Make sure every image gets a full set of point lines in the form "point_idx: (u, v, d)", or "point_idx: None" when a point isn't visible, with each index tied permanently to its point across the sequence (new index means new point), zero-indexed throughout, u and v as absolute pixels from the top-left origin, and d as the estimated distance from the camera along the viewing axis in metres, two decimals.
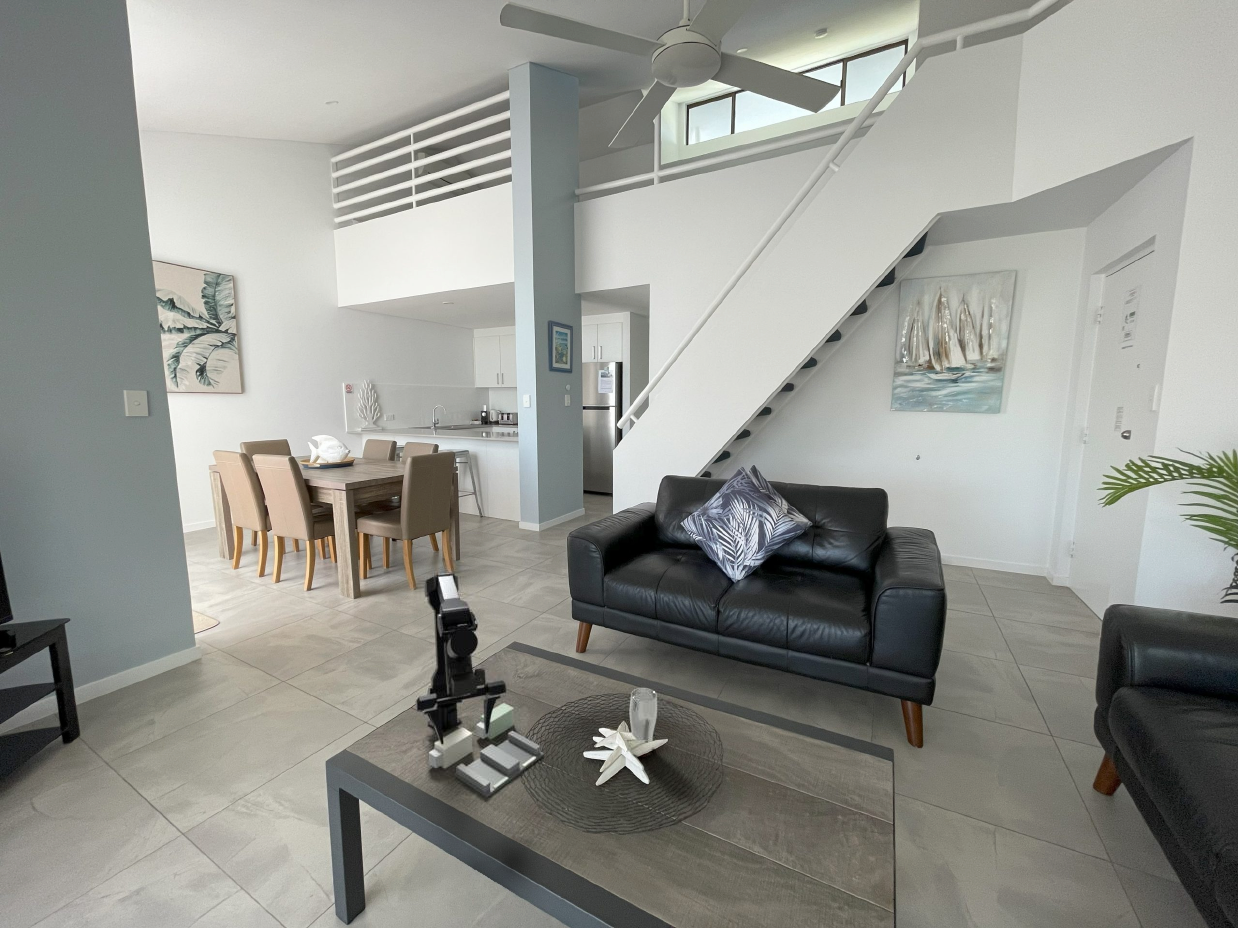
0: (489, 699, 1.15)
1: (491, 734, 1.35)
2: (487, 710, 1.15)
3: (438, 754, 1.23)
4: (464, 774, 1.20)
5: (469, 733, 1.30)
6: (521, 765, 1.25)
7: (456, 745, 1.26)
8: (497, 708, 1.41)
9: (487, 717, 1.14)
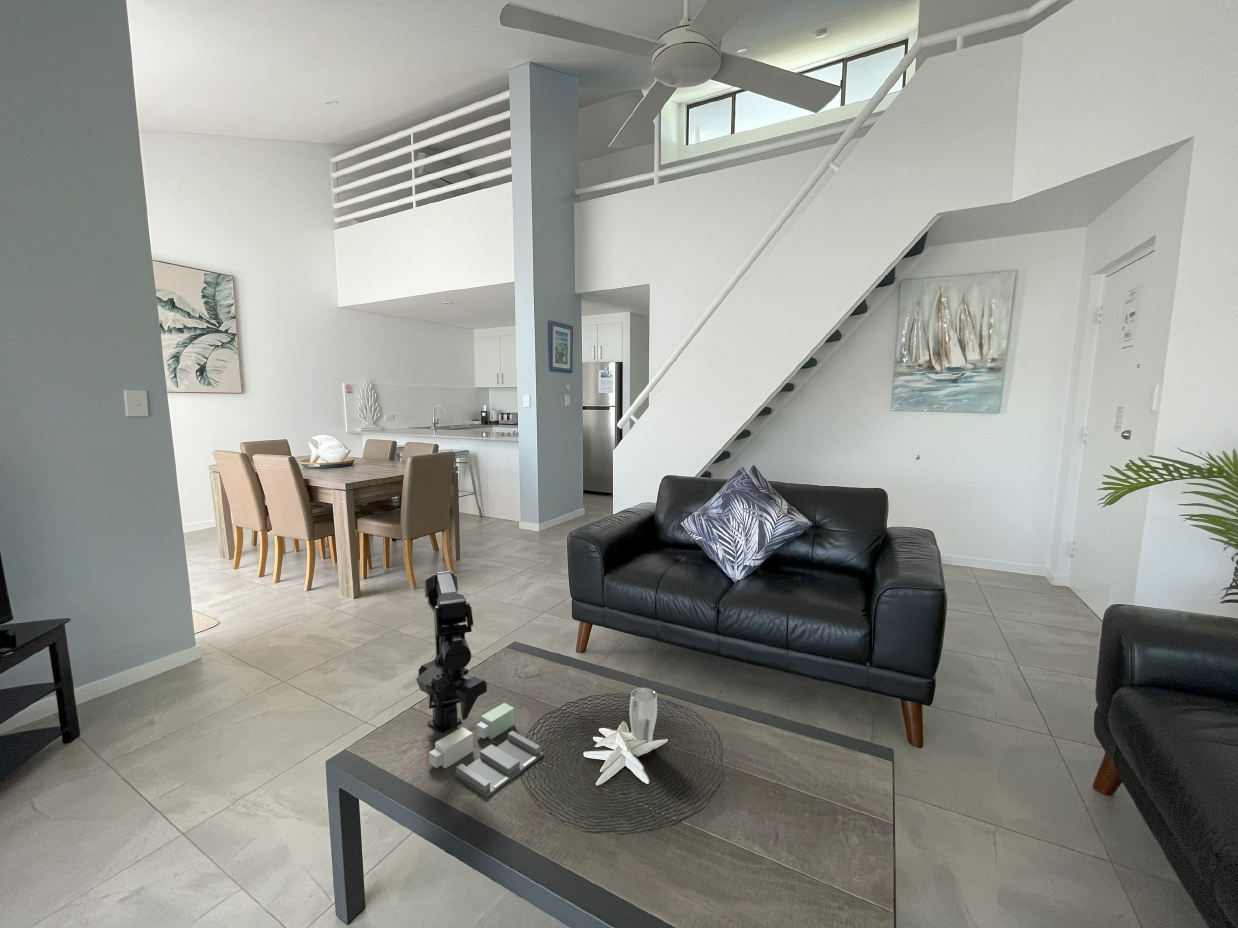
0: (457, 698, 1.20)
1: (492, 734, 1.36)
2: (461, 704, 1.22)
3: (439, 754, 1.23)
4: (464, 774, 1.20)
5: (469, 733, 1.30)
6: (521, 765, 1.25)
7: (457, 745, 1.26)
8: (497, 708, 1.41)
9: (461, 709, 1.22)
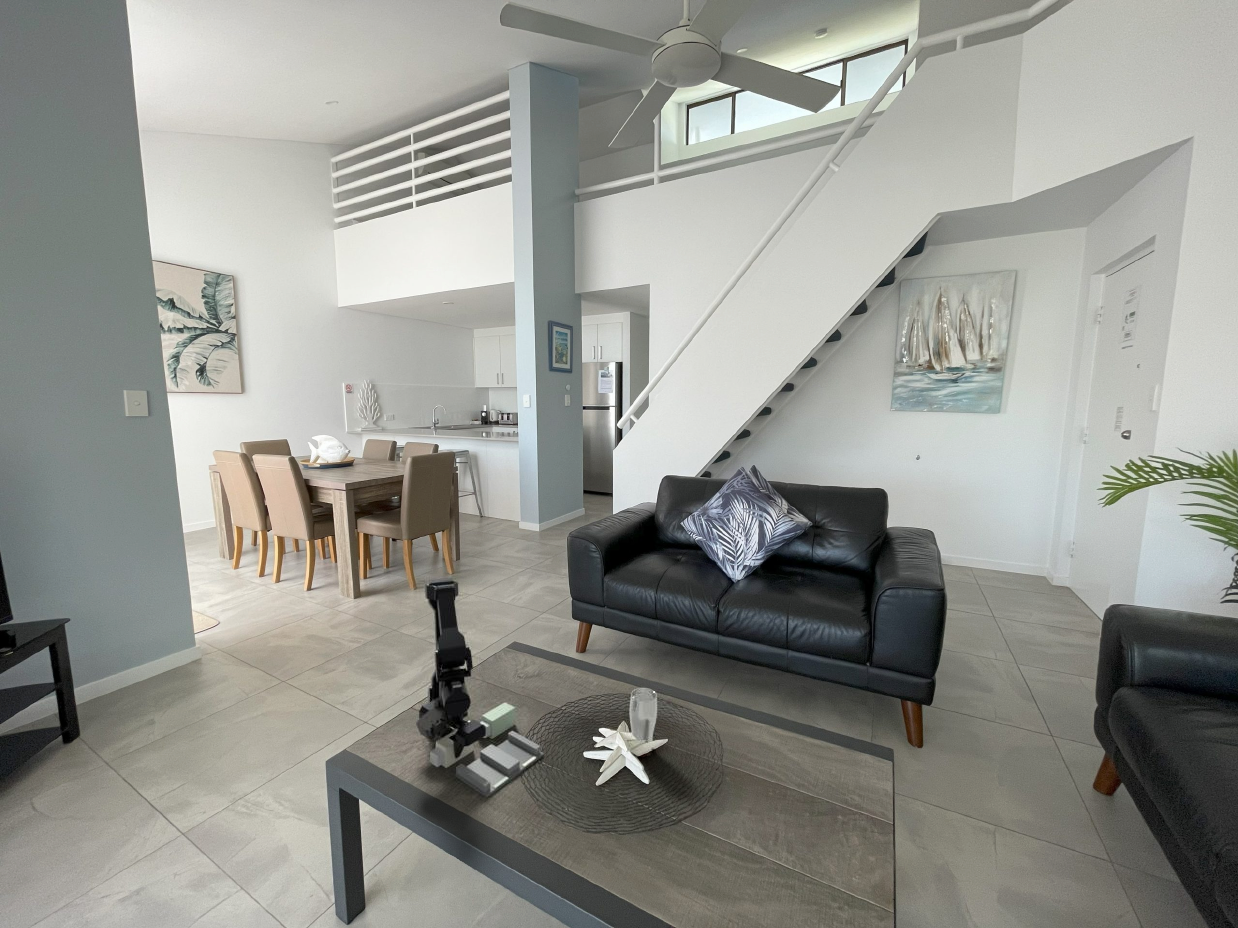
0: (449, 738, 1.23)
1: (492, 733, 1.36)
2: (454, 743, 1.25)
3: (440, 753, 1.23)
4: (464, 774, 1.20)
5: None
6: (521, 765, 1.25)
7: None
8: (498, 707, 1.41)
9: (454, 747, 1.25)
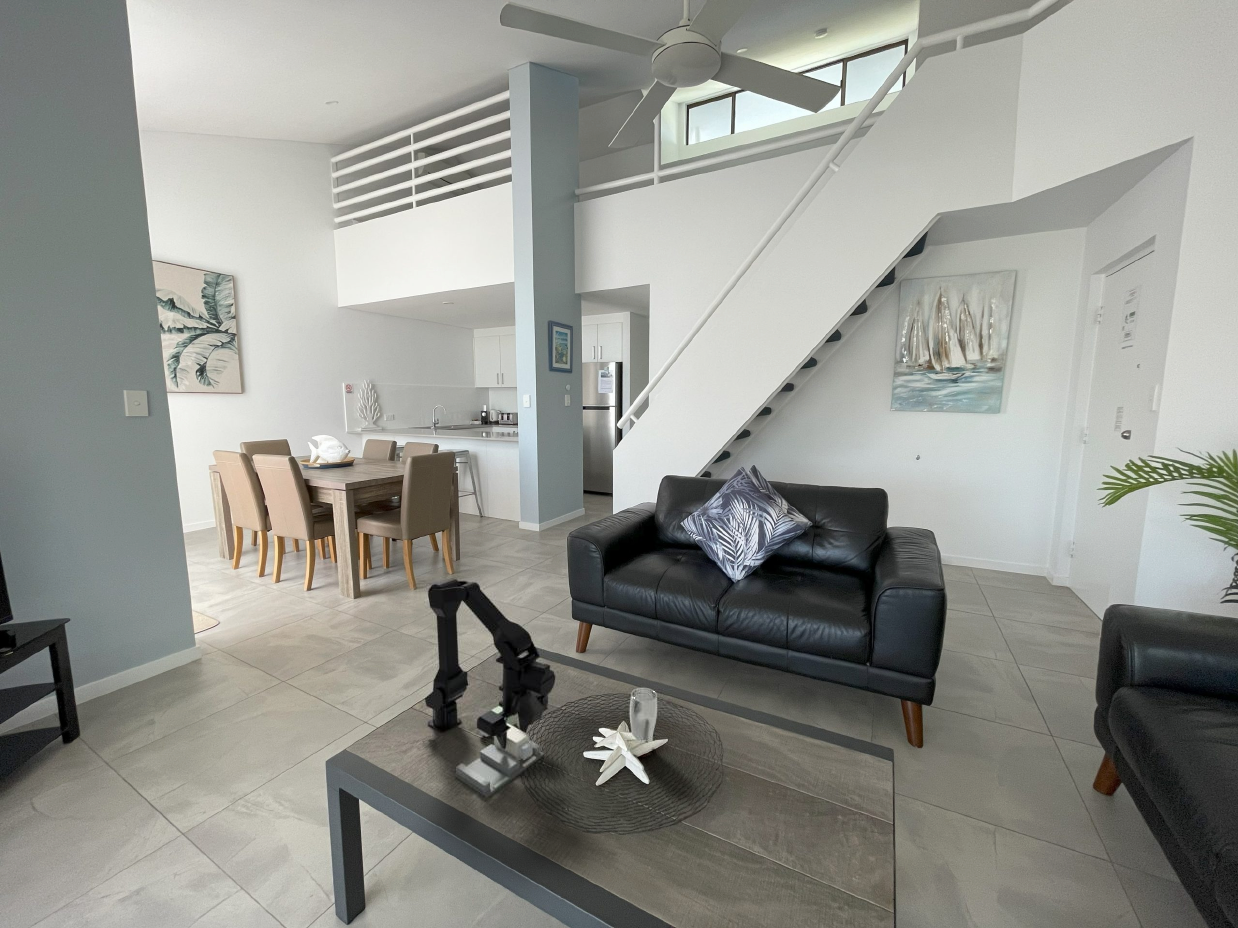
0: None
1: None
2: None
3: (529, 742, 1.28)
4: (464, 774, 1.20)
5: None
6: (521, 765, 1.25)
7: None
8: None
9: (527, 724, 1.31)
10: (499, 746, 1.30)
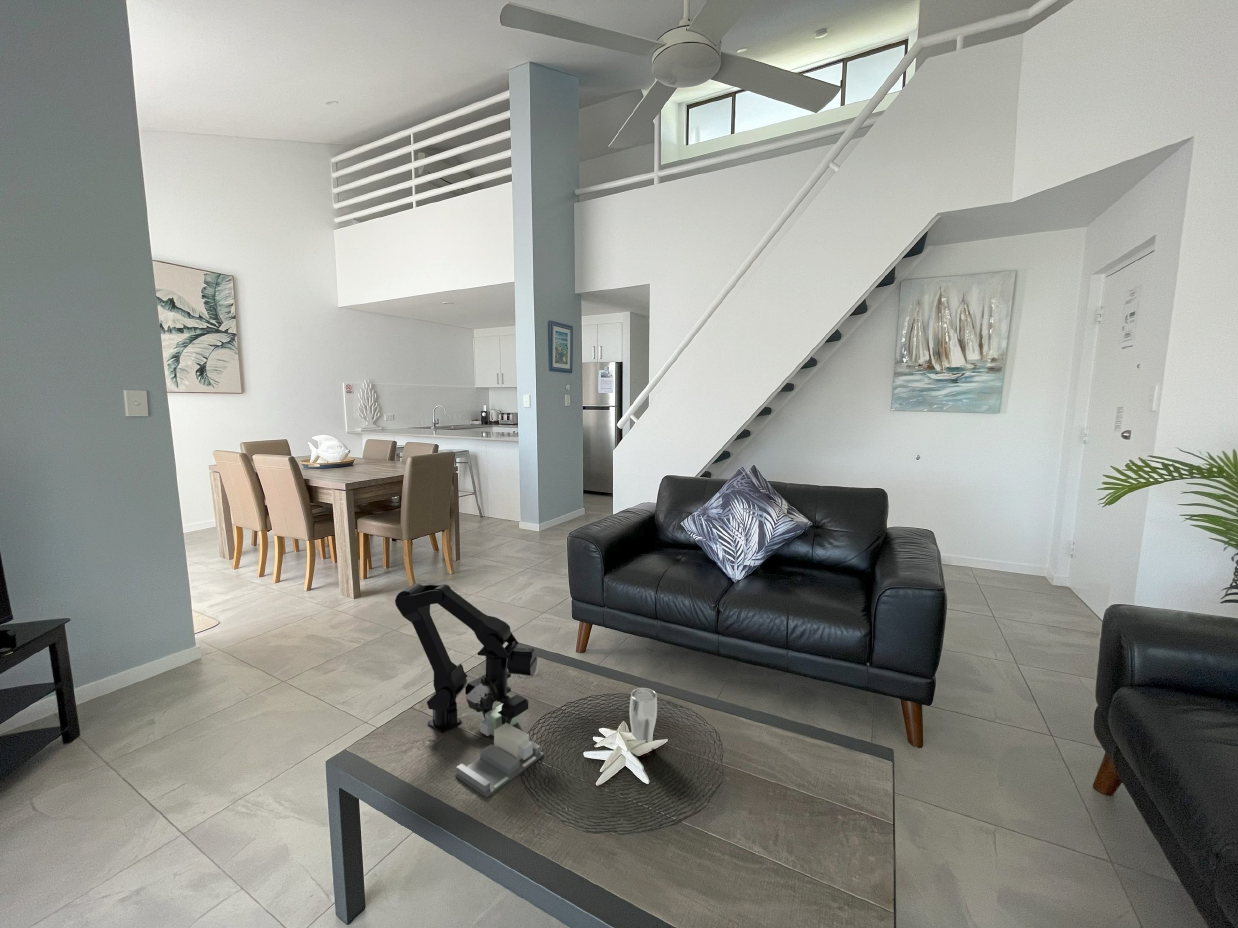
0: (499, 713, 1.34)
1: None
2: (502, 717, 1.35)
3: (529, 742, 1.28)
4: (464, 774, 1.20)
5: (506, 724, 1.33)
6: (521, 765, 1.25)
7: None
8: (501, 706, 1.42)
9: (502, 722, 1.36)
10: (499, 746, 1.30)
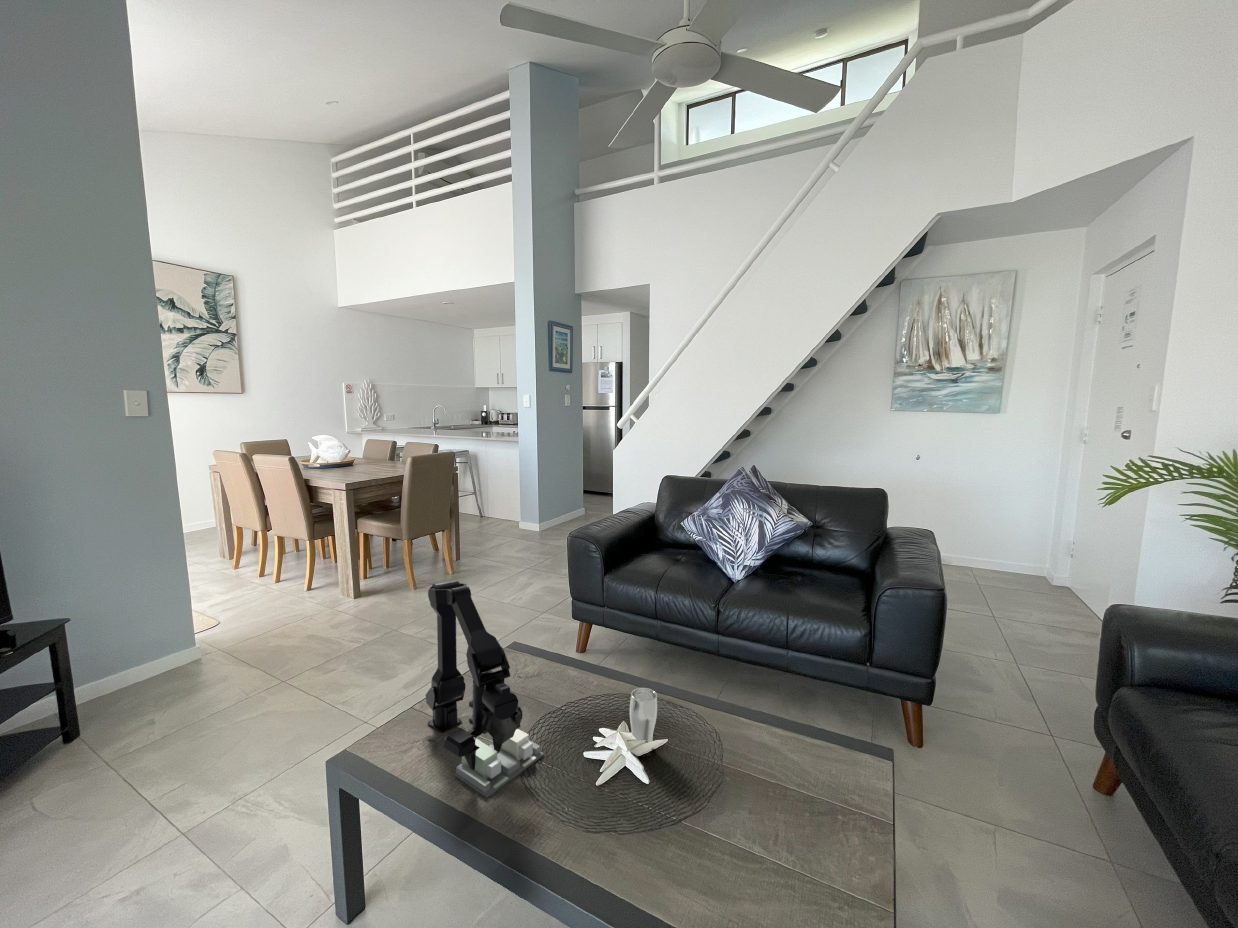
0: None
1: None
2: None
3: (529, 742, 1.28)
4: (464, 774, 1.20)
5: None
6: (521, 765, 1.25)
7: None
8: None
9: None
10: None
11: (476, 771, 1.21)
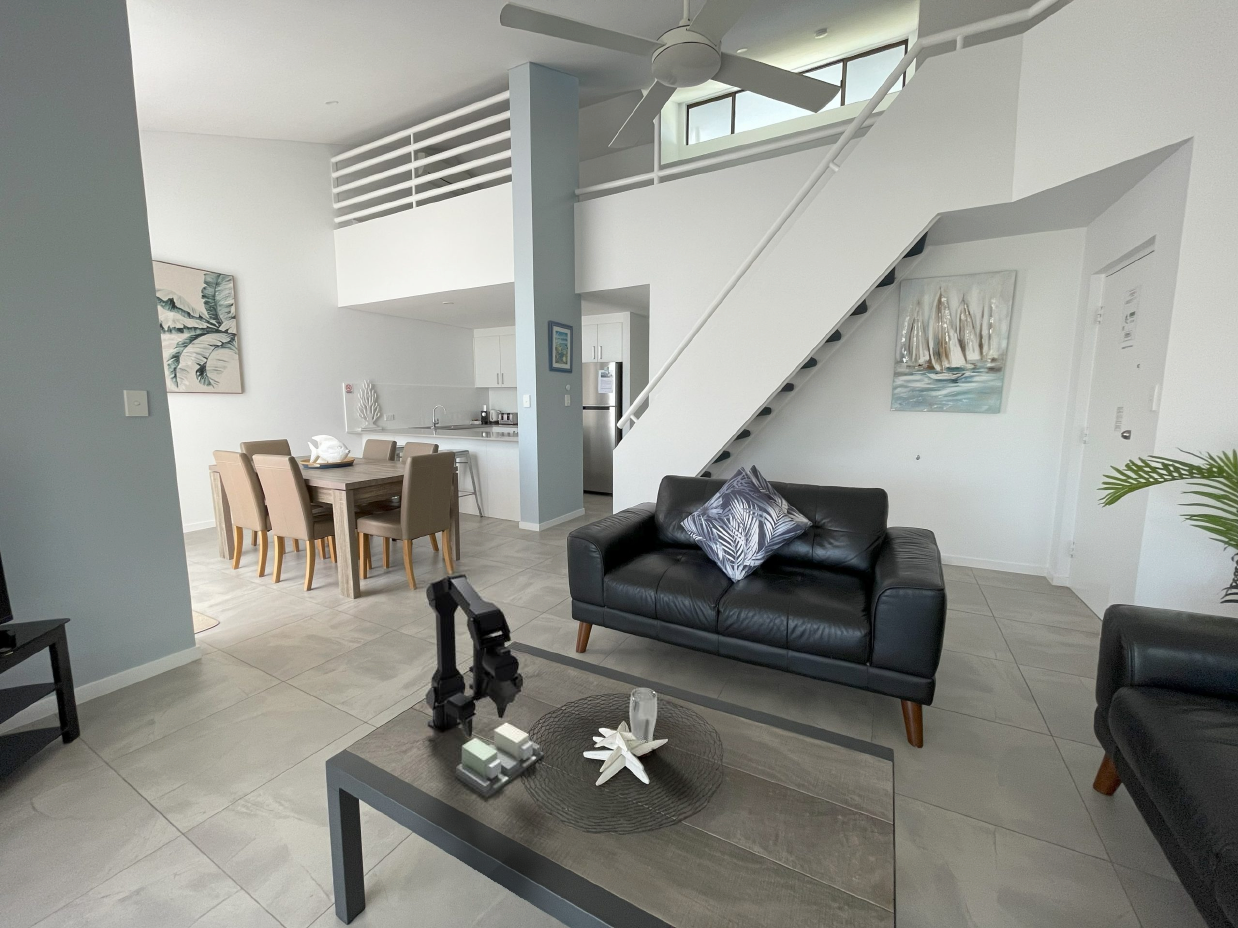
0: None
1: None
2: None
3: (529, 742, 1.28)
4: (464, 774, 1.20)
5: (506, 724, 1.33)
6: (521, 765, 1.25)
7: None
8: (471, 749, 1.23)
9: (504, 706, 1.24)
10: (499, 746, 1.30)
11: (476, 771, 1.21)
